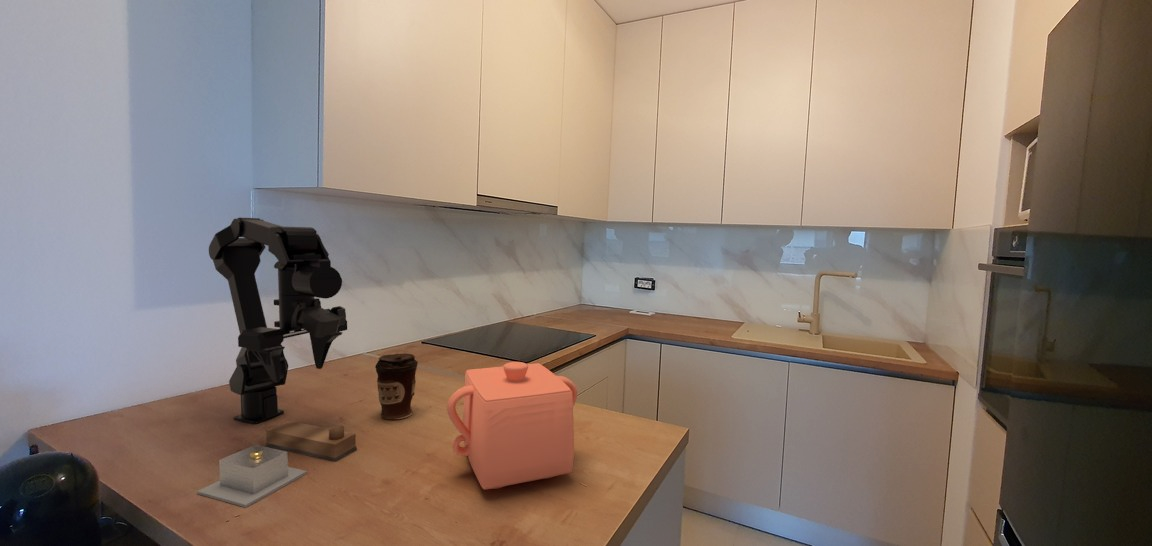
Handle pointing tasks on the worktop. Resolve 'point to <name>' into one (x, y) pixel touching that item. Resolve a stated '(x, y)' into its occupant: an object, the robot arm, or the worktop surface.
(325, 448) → the plane body
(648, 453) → the worktop surface
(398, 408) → the coffee cup
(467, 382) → the teapot
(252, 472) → the grey jewelry box
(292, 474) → the felt pad
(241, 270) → the robot arm
